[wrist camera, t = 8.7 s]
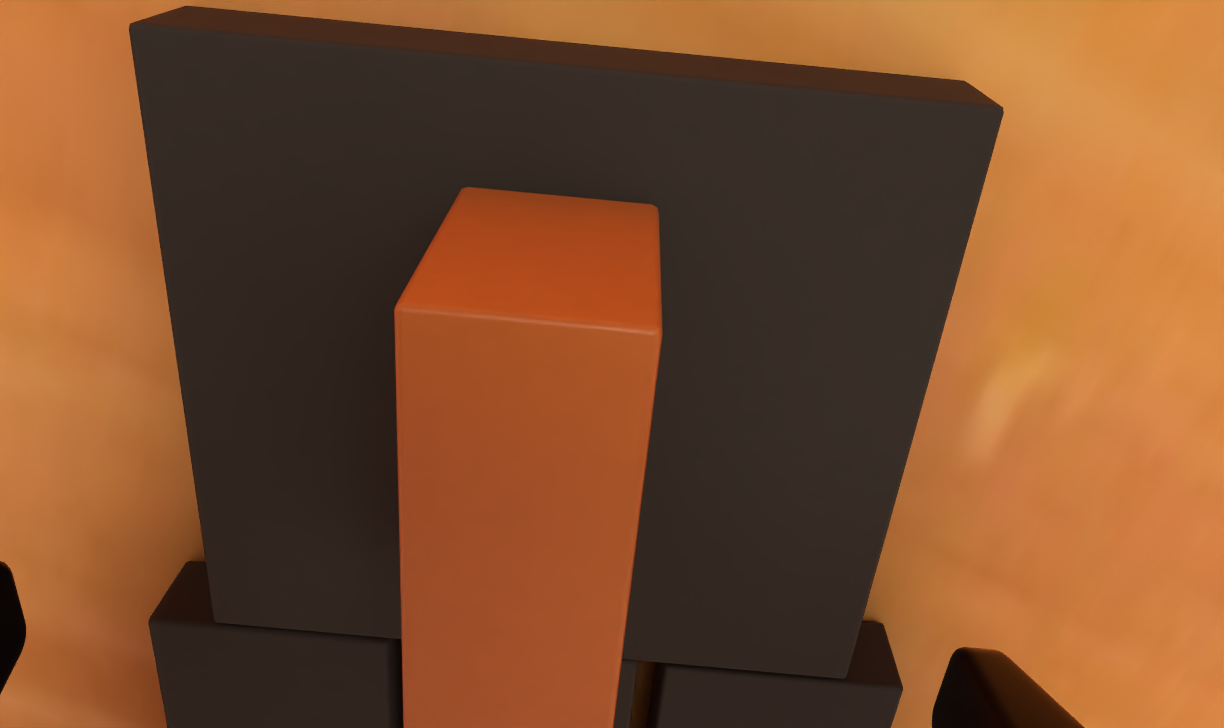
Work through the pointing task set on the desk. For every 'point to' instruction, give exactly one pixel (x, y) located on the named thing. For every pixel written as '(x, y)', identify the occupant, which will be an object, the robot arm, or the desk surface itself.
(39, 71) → the desk surface
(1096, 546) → the desk surface
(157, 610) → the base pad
